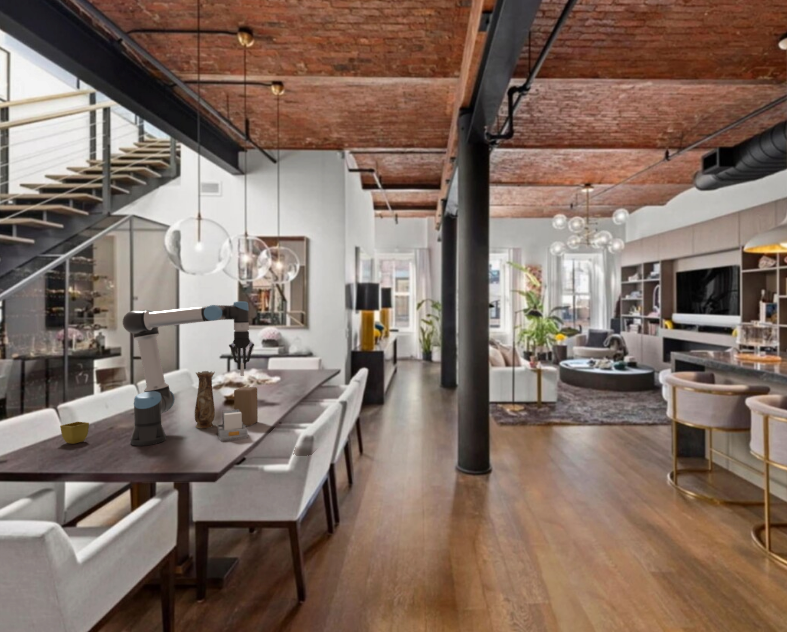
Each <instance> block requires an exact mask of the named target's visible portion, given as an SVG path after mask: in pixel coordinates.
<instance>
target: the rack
mask: <svg viewBox="0 0 787 632" xmlns="http://www.w3.org/2000/svg"><path fill="white" fill-rule="evenodd" d="M234 412H240V411H239V409H225V410H224V409H223V410H222V419H221V421H222V423H221V424H217V435H218V438H219V440H220V442H227V441H234V440H241V439H248V436H249V435H248V433H249V432H248V428H247V427H246V426H245V424H244V425H243V422H242V428H241V429H233V430H224V413H234Z"/></svg>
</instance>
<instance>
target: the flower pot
mask: <svg viewBox="0 0 787 632" xmlns="http://www.w3.org/2000/svg"><path fill="white" fill-rule="evenodd" d="M59 427H60V431H61V432H60V433H61V437H62V439H63V441H64V442H65V443H66V444H72V445H75V444H77V443H83V442H84V441H85V440H86V438H87V437H88V434H89V427H90V422H85V421H75V422H70V423H67V424H66V423H65V424H61V425H60V426H59Z"/></svg>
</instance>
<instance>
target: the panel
mask: <svg viewBox="0 0 787 632" xmlns="http://www.w3.org/2000/svg"><path fill="white" fill-rule="evenodd" d="M241 428H242V413H241V412H234V413H224V430H233V429H241Z"/></svg>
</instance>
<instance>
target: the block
mask: <svg viewBox="0 0 787 632" xmlns="http://www.w3.org/2000/svg"><path fill="white" fill-rule="evenodd" d="M233 402H234V403H233V408H234V409H239V411H240V412H241V413H242V422H243V425H244V424H245V427H246V426H247V427H248V426H249V427H251V426H252V425H254V424H256V423H257V422H258V416H259V415H258V413H259V412H258V410H259V409H258V387H256V386H255V387H254V386H241V387H238V388H236V389H234V391H233Z"/></svg>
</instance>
